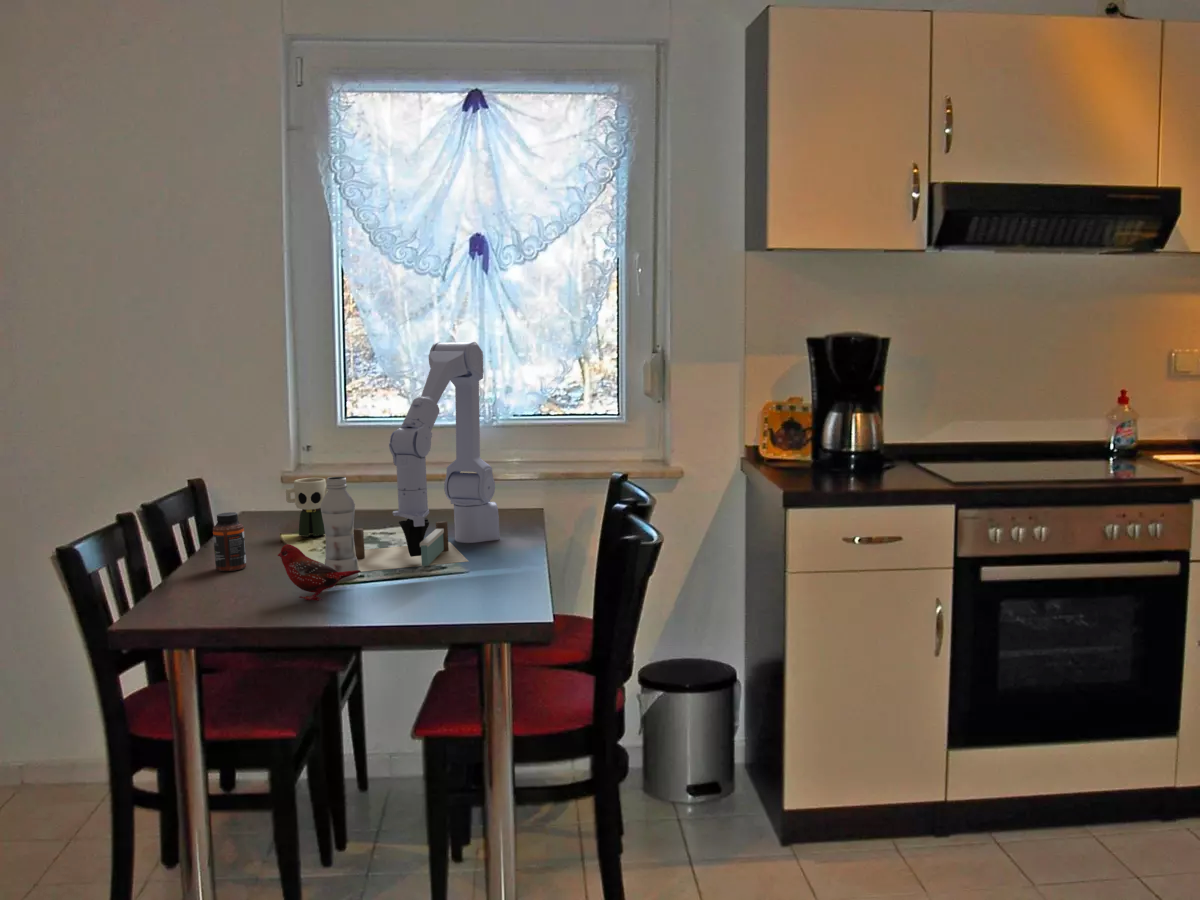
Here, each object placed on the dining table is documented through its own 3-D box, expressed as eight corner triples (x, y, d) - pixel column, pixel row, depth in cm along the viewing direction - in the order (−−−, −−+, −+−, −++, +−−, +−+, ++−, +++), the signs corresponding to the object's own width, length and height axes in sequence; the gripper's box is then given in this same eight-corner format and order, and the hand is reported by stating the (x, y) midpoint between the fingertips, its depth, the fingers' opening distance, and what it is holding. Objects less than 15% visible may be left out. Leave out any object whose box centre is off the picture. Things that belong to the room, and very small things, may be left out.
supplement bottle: (252, 566, 233) (249, 511, 231) (234, 573, 227) (230, 517, 226) (228, 564, 235) (224, 510, 233) (209, 571, 229) (205, 515, 228)
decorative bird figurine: (285, 595, 208) (281, 541, 207) (367, 603, 201) (364, 547, 200) (274, 599, 205) (271, 545, 204) (357, 607, 199) (354, 551, 197)
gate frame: (450, 546, 246) (448, 514, 246) (468, 566, 228) (467, 531, 227) (346, 556, 240) (344, 523, 239) (356, 577, 221) (354, 541, 220)
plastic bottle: (329, 588, 213) (323, 482, 210) (320, 580, 219) (314, 477, 216) (363, 583, 216) (358, 478, 213) (354, 576, 222) (348, 474, 219)
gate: (437, 550, 236) (436, 528, 236) (444, 549, 236) (443, 528, 236) (420, 565, 222) (419, 543, 222) (428, 565, 222) (427, 542, 222)
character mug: (286, 540, 258) (282, 483, 256) (290, 534, 265) (287, 478, 263) (335, 537, 259) (332, 481, 257) (338, 531, 266) (335, 476, 264)
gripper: (386, 484, 231) (390, 550, 233) (397, 495, 217) (400, 565, 219) (421, 481, 233) (424, 547, 235) (434, 492, 219) (437, 562, 221)
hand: (415, 555), depth 227 cm, fingers closed
